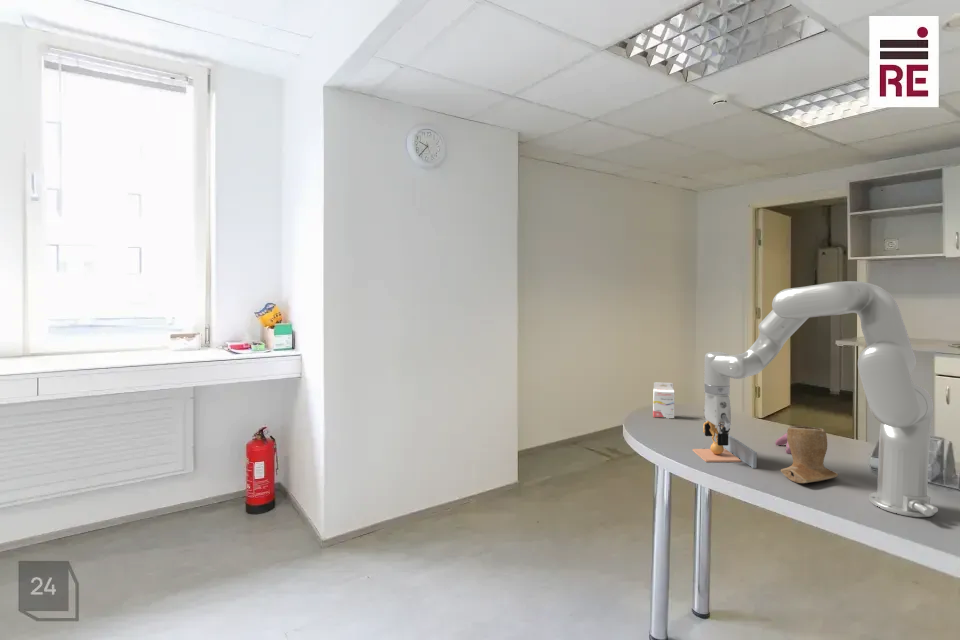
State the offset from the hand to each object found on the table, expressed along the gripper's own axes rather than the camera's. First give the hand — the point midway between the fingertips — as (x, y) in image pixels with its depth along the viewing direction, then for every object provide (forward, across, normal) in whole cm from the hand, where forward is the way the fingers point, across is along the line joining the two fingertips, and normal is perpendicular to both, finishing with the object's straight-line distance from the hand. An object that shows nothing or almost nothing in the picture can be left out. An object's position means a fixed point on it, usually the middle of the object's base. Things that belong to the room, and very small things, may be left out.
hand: (716, 440), depth 161 cm
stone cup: (+6, -18, -18) cm, 26 cm away
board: (+5, 0, 0) cm, 5 cm away
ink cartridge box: (+6, +49, +1) cm, 49 cm away
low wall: (+5, -1, -7) cm, 9 cm away
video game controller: (+6, +6, -28) cm, 29 cm away
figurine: (+5, +1, 0) cm, 5 cm away
